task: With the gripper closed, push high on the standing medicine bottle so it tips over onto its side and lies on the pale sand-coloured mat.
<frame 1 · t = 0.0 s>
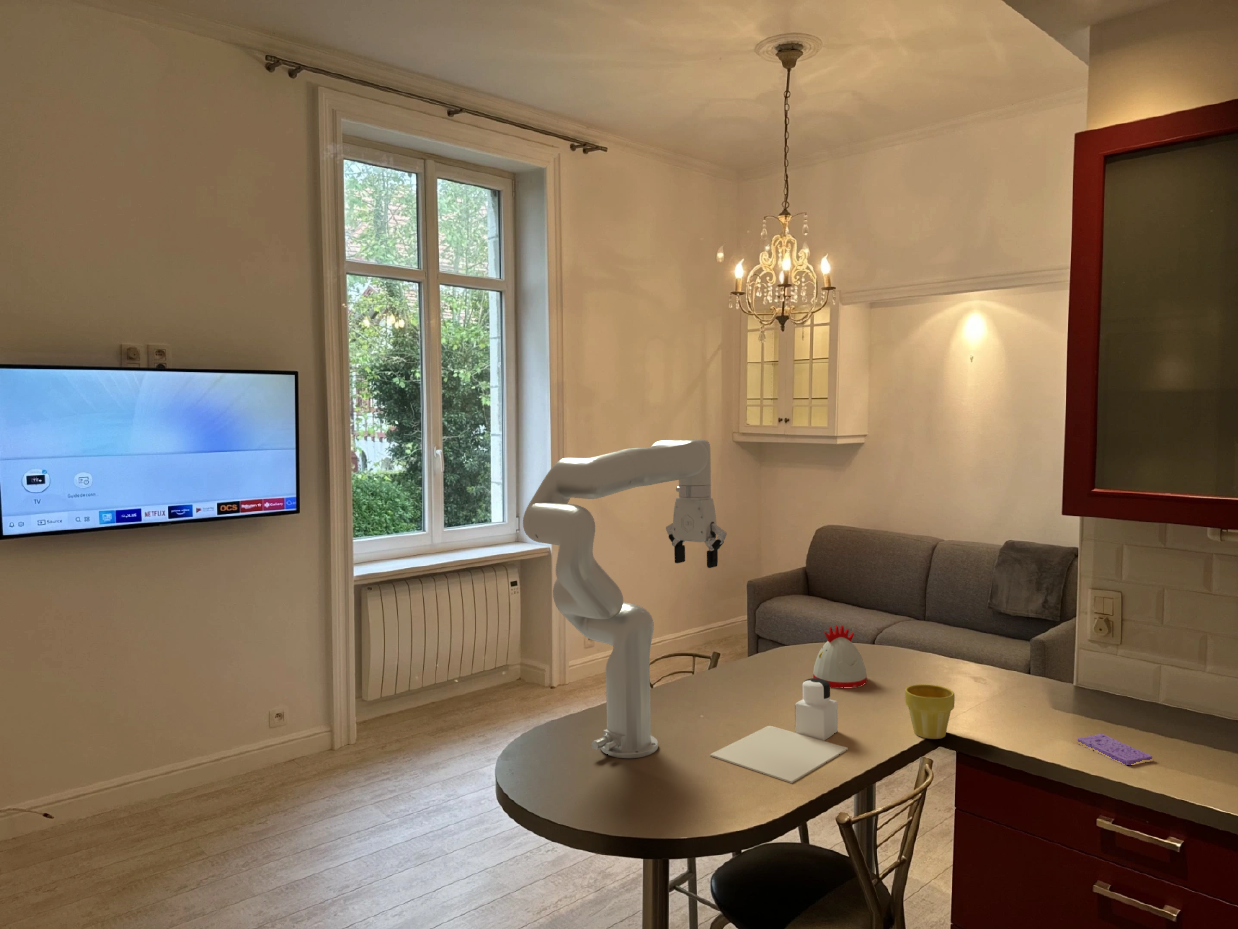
hand: (695, 564, 199), 37 cm above the table, tool pointing down, fingers open, 9 cm apart
sponges: (1114, 756, 177), on the table
kitchen timer: (839, 681, 227), on the table
medicine bottle: (816, 734, 190), on the table
plant pot: (929, 734, 189), on the table
mat: (779, 753, 180), on the table
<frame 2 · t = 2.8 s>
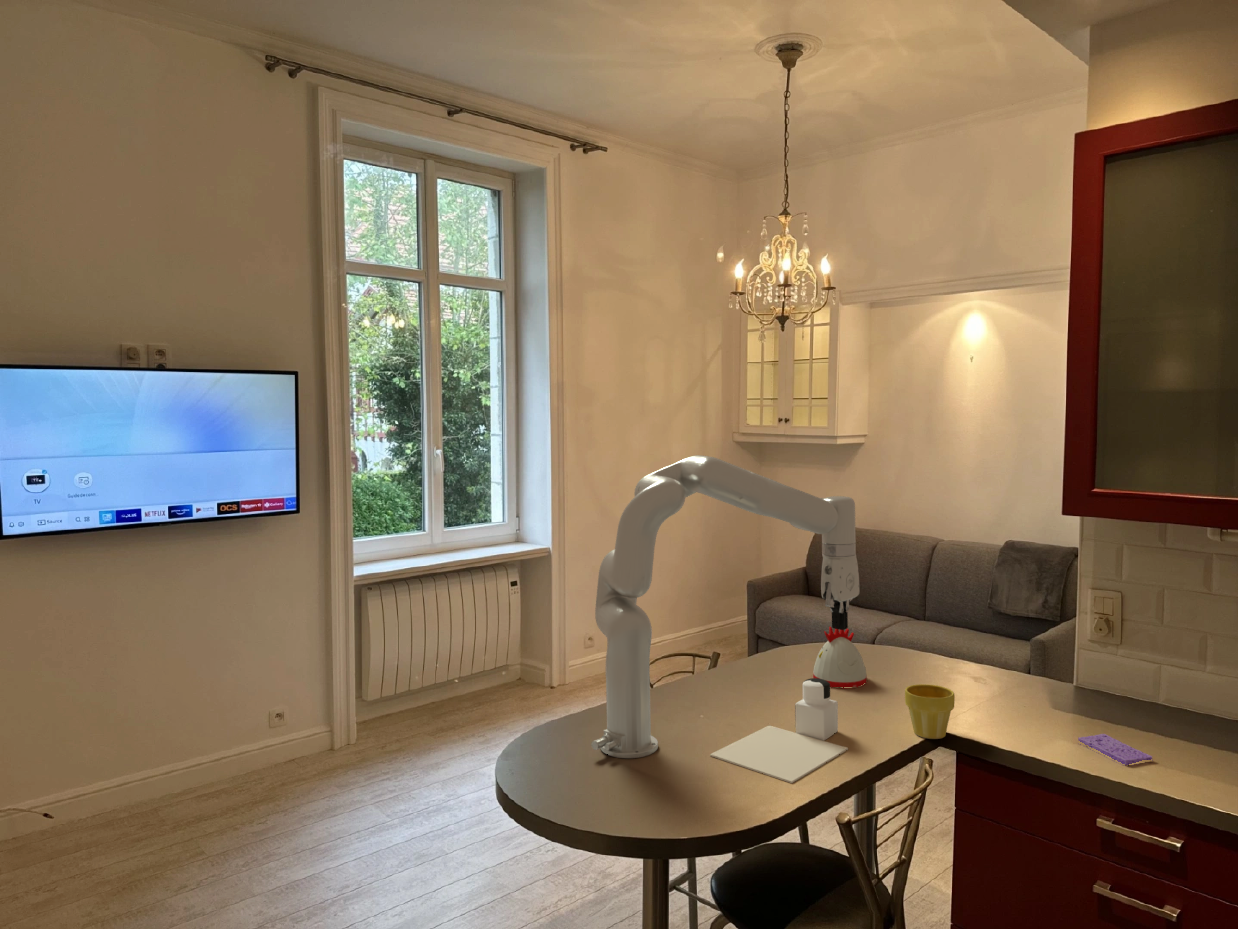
hand: (839, 628, 196), 22 cm above the table, tool pointing down, fingers closed
nothing on the table moved.
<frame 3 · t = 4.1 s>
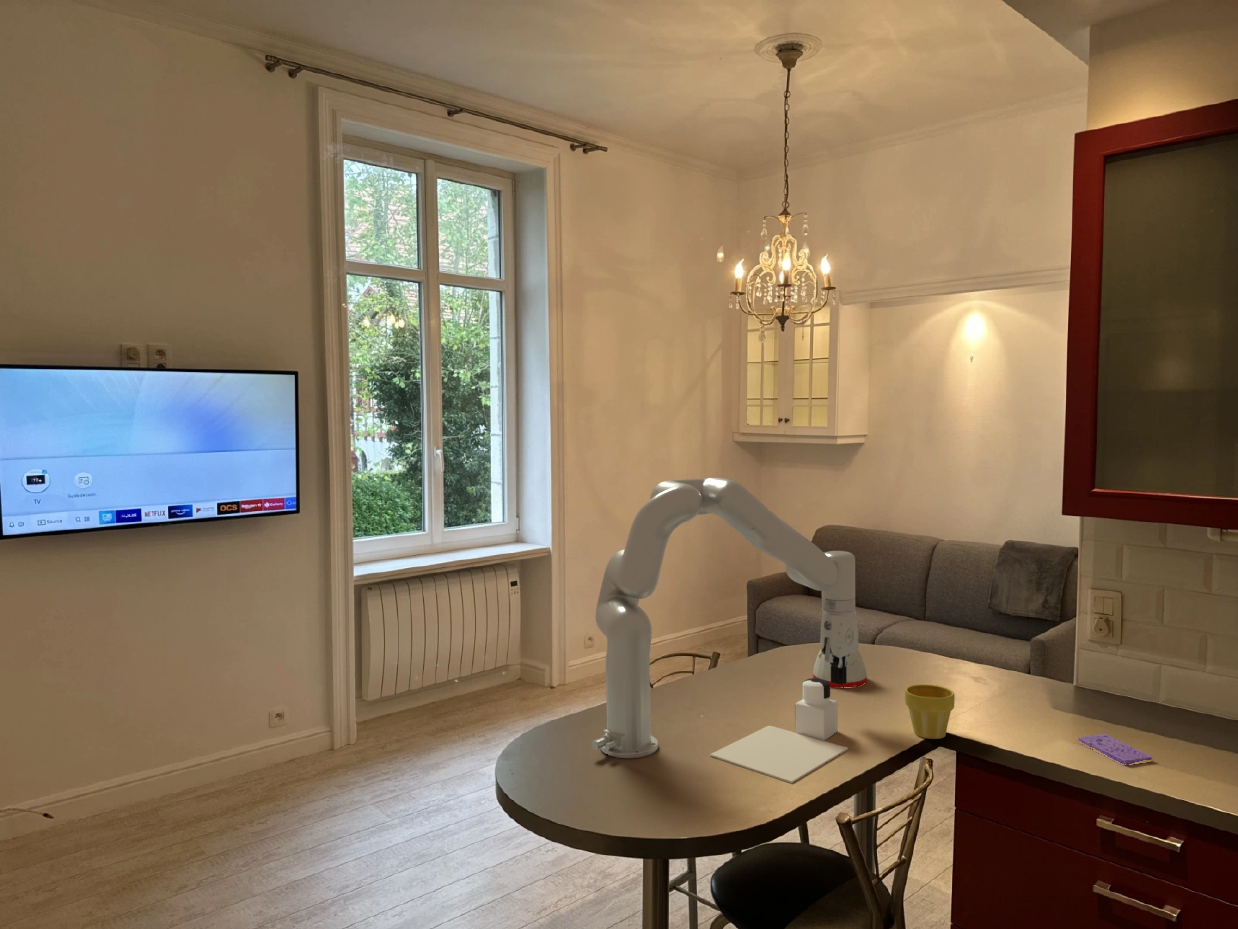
hand: (838, 682, 197), 9 cm above the table, tool pointing down, fingers closed
nothing on the table moved.
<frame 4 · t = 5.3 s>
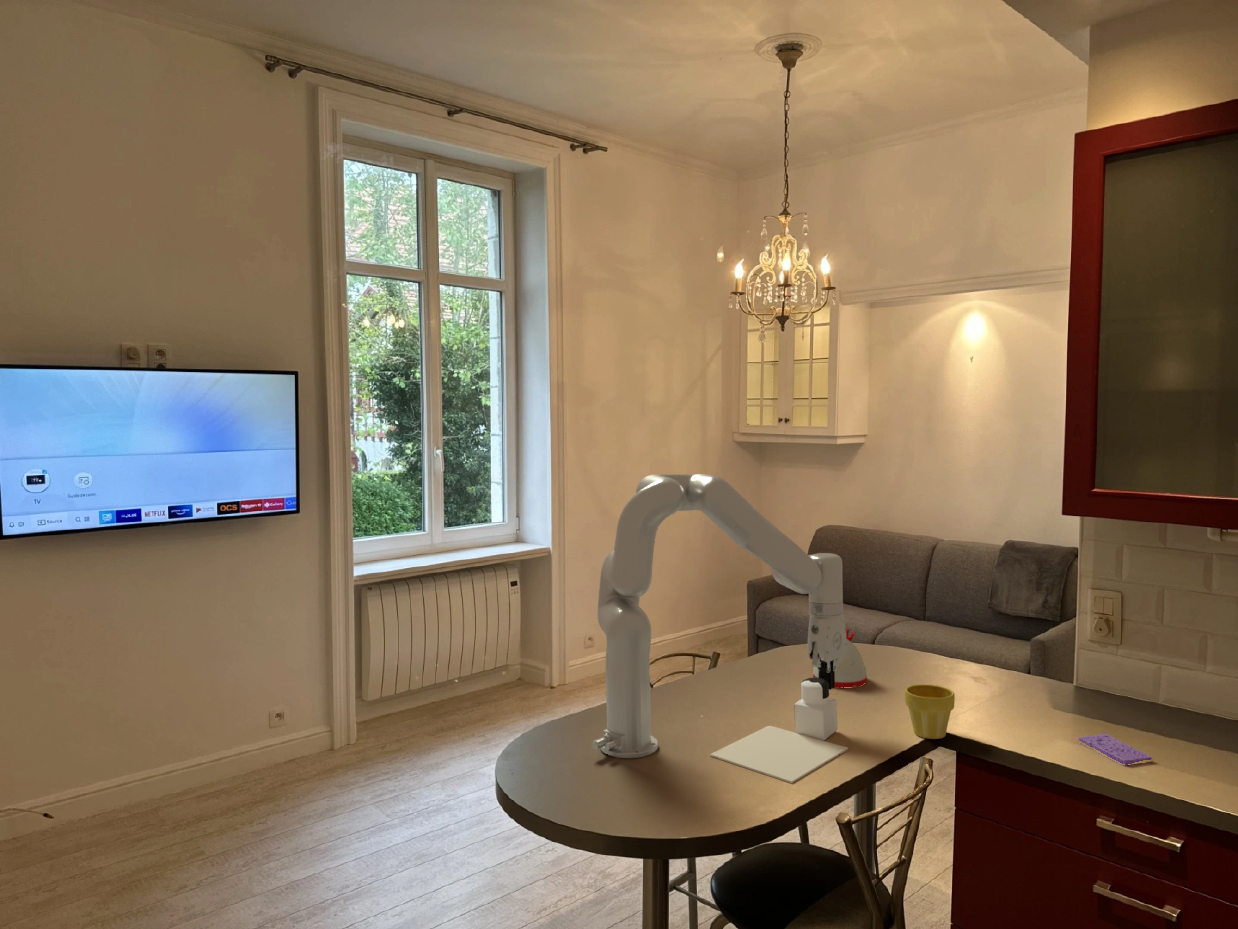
hand: (826, 687, 193), 9 cm above the table, tool pointing down, fingers closed
medicine bottle: (816, 732, 190), on the table, touching gripper
everything else where it was.
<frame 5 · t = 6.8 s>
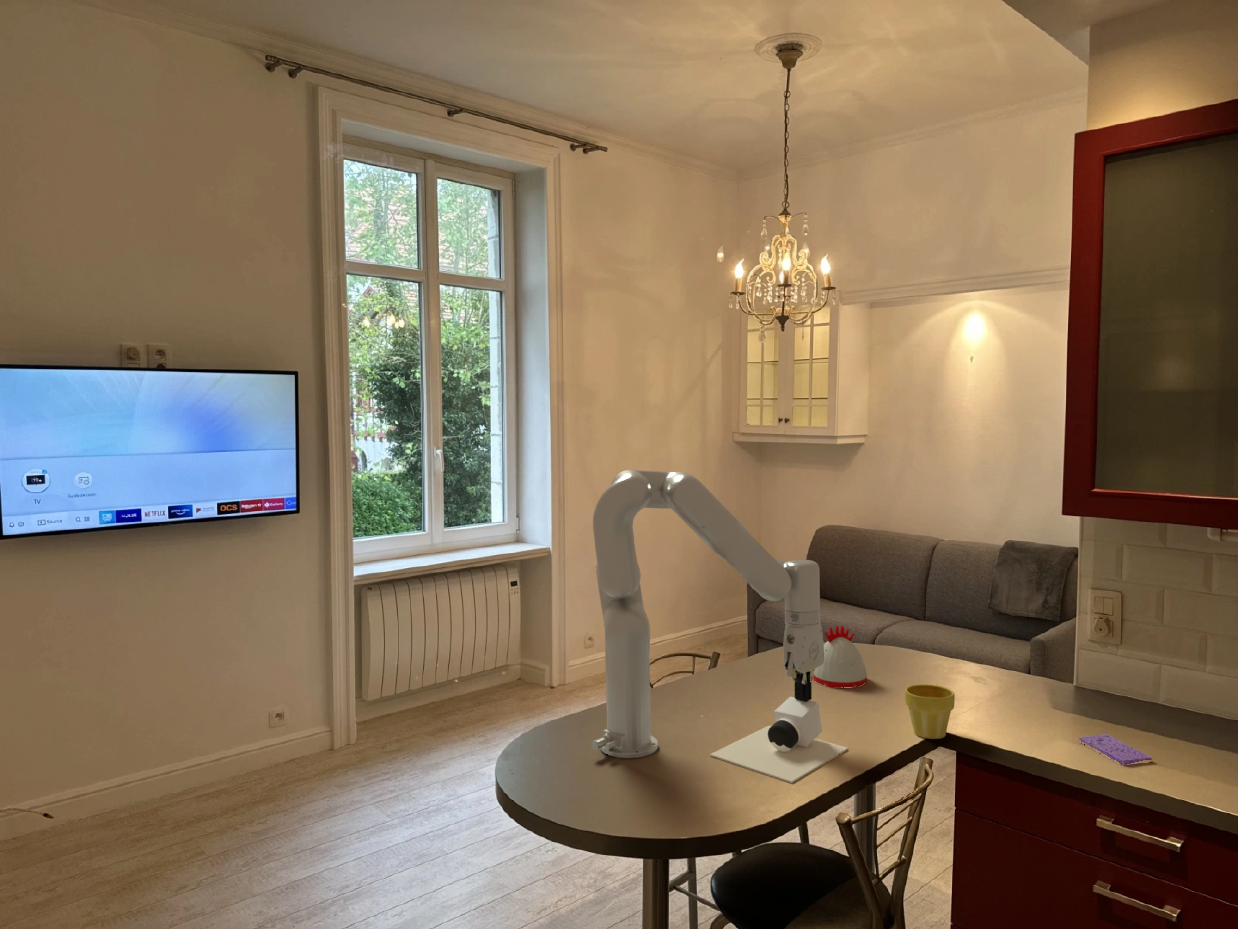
hand: (803, 699, 186), 9 cm above the table, tool pointing down, fingers closed
medicine bottle: (806, 713, 187), point 6 cm above the table, touching gripper, mat
everything else where it was.
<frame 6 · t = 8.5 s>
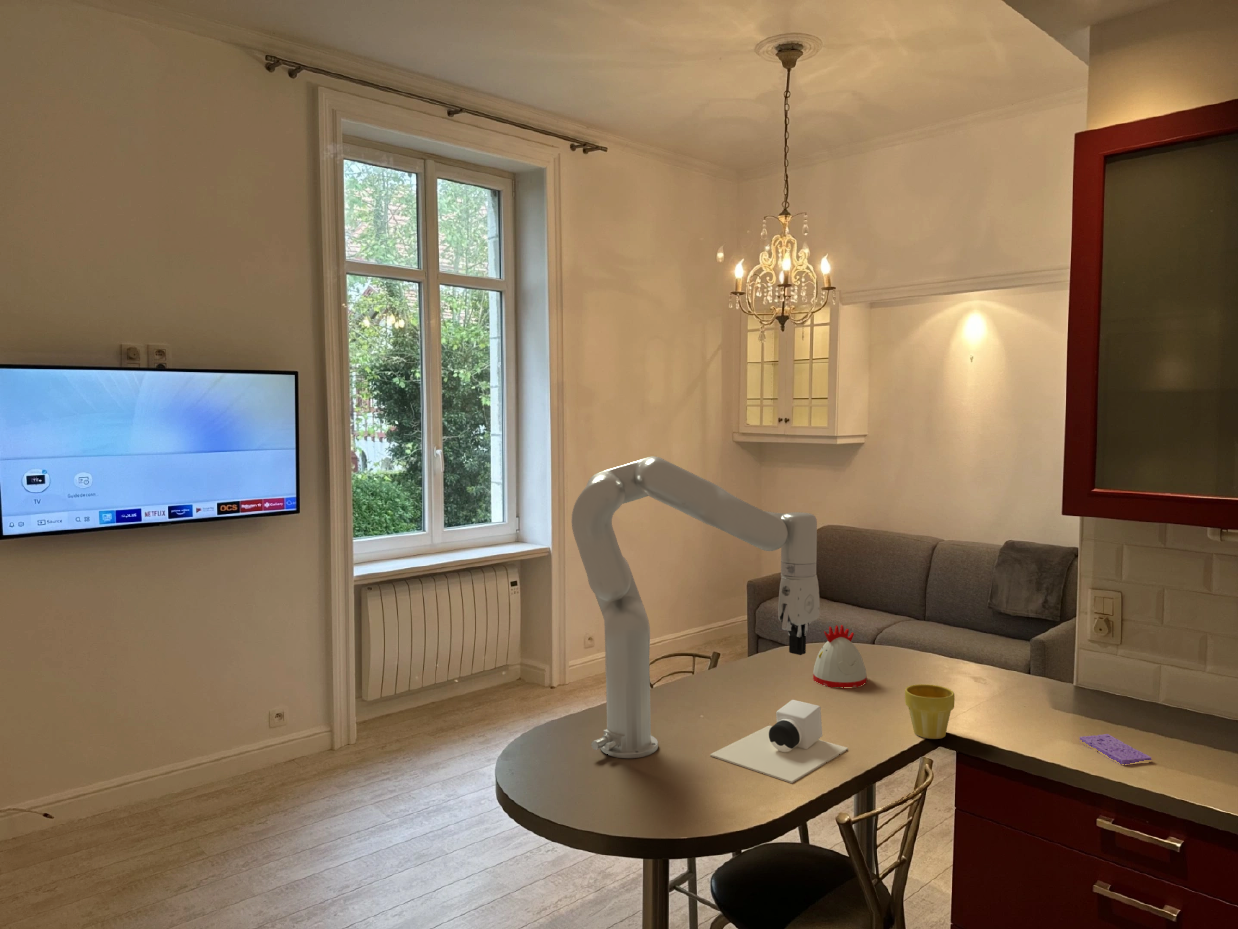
hand: (797, 653, 184), 20 cm above the table, tool pointing down, fingers closed
medicine bottle: (807, 717, 187), point 5 cm above the table, touching mat
everything else where it was.
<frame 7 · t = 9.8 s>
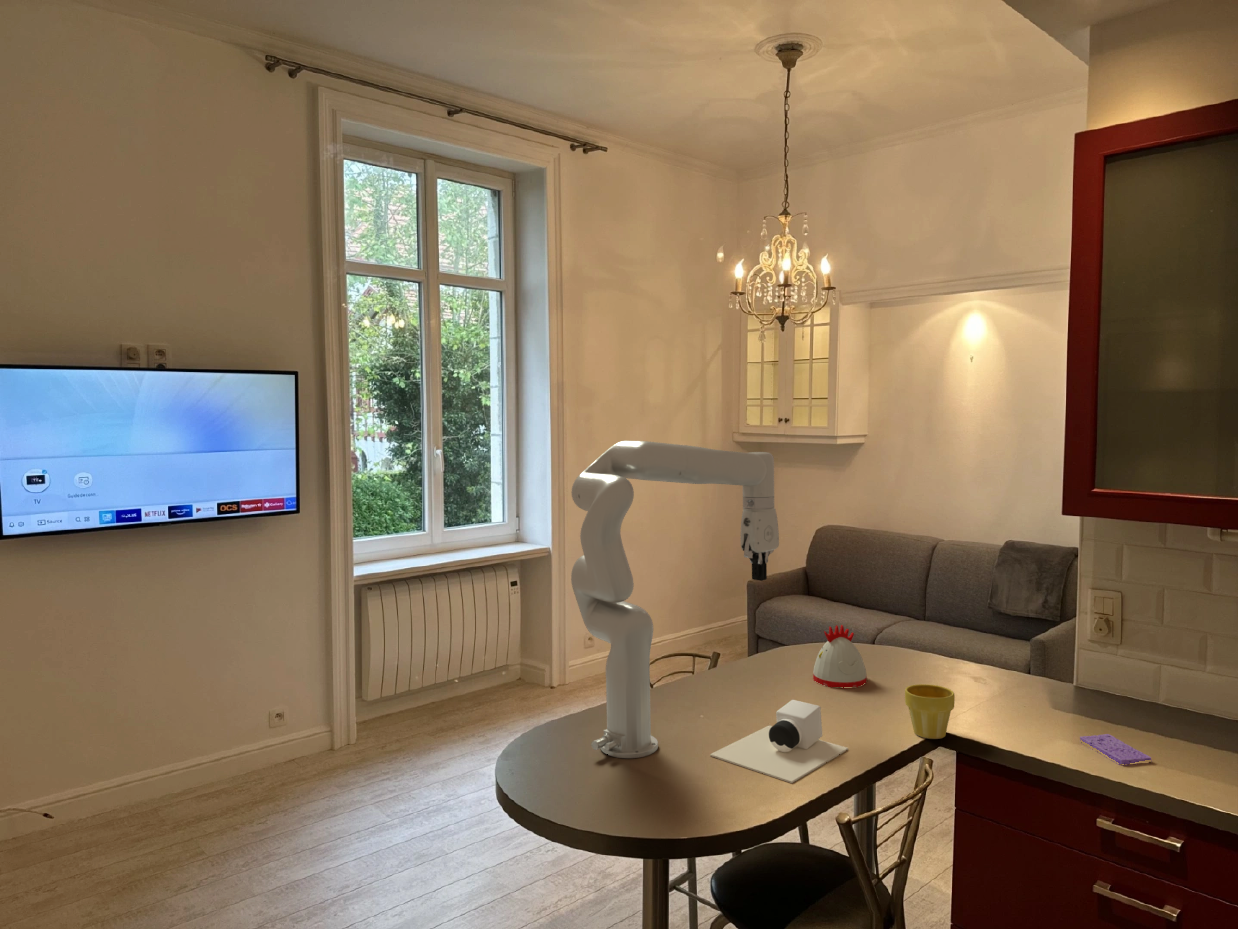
hand: (759, 579, 204), 32 cm above the table, tool pointing down, fingers closed
nothing on the table moved.
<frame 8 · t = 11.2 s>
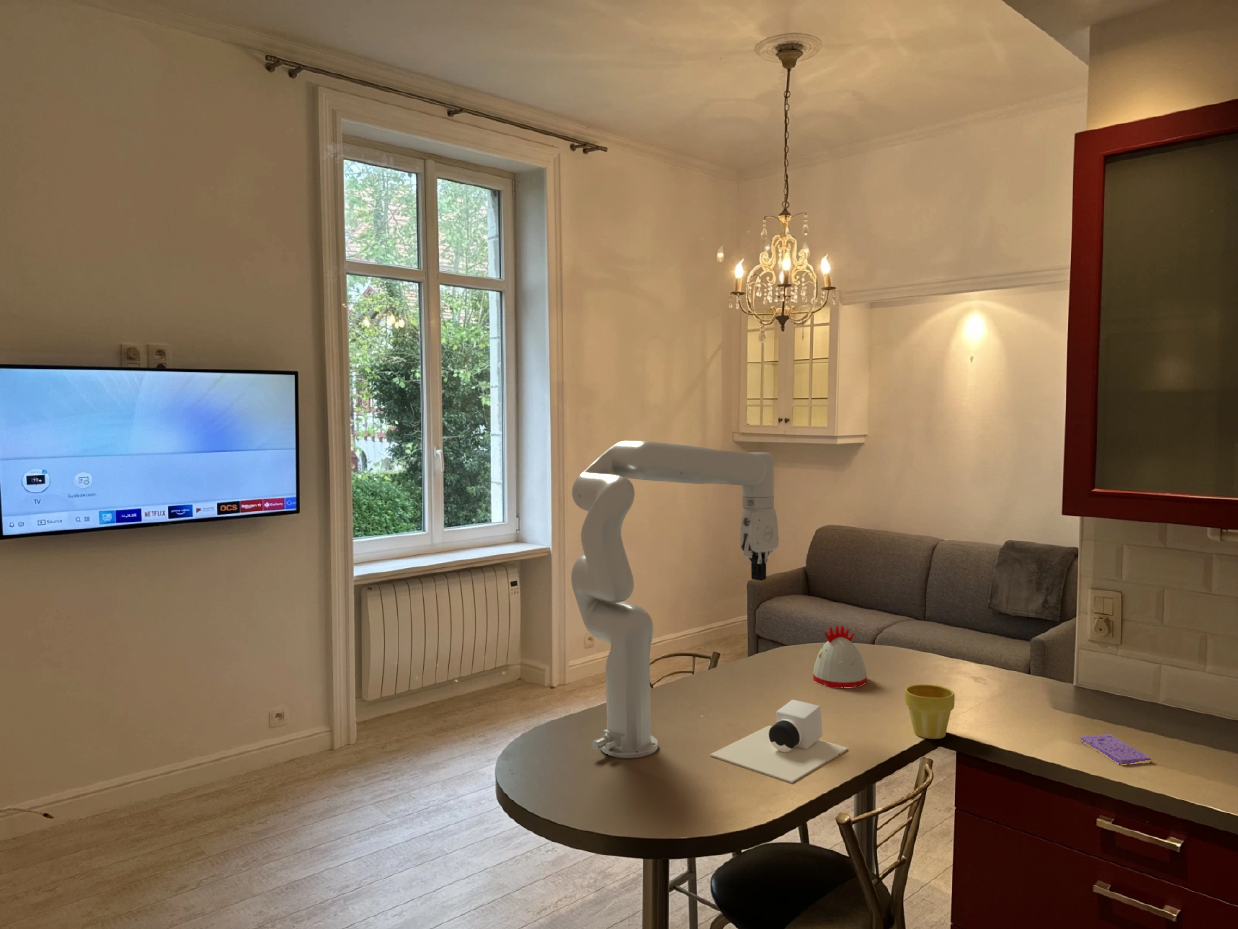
hand: (758, 579, 204), 32 cm above the table, tool pointing down, fingers closed
nothing on the table moved.
at the end: medicine bottle tilted 97°; medicine bottle inside the target area (3.3 cm from its centre), point 4.9 cm above the table; medicine bottle touching mat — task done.
